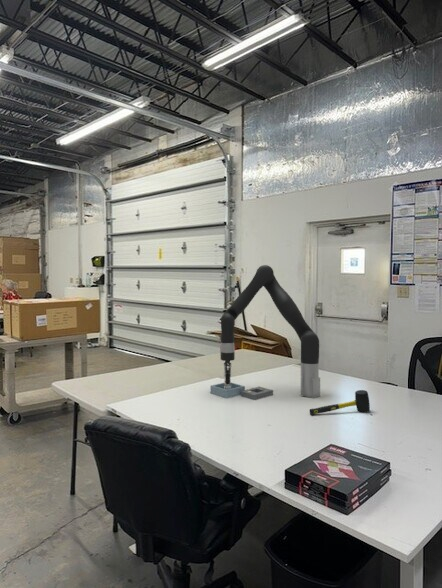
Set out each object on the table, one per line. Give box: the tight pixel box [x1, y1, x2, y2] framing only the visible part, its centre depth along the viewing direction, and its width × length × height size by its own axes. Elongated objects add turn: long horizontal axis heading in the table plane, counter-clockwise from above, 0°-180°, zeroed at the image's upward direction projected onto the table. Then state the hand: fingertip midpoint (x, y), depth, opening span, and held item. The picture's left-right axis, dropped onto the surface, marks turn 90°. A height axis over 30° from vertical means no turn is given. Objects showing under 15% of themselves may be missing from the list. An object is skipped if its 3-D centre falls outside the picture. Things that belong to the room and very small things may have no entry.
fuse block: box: [240, 386, 274, 401], centre depth 215 cm, size 10×14×3 cm
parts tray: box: [209, 382, 246, 399], centre depth 219 cm, size 13×13×4 cm
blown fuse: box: [223, 371, 232, 390], centre depth 219 cm, size 4×4×9 cm
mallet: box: [309, 389, 371, 416], centre depth 187 cm, size 29×6×10 cm, turn 102°
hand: (227, 382), depth 219 cm, fingers open, 4 cm apart
